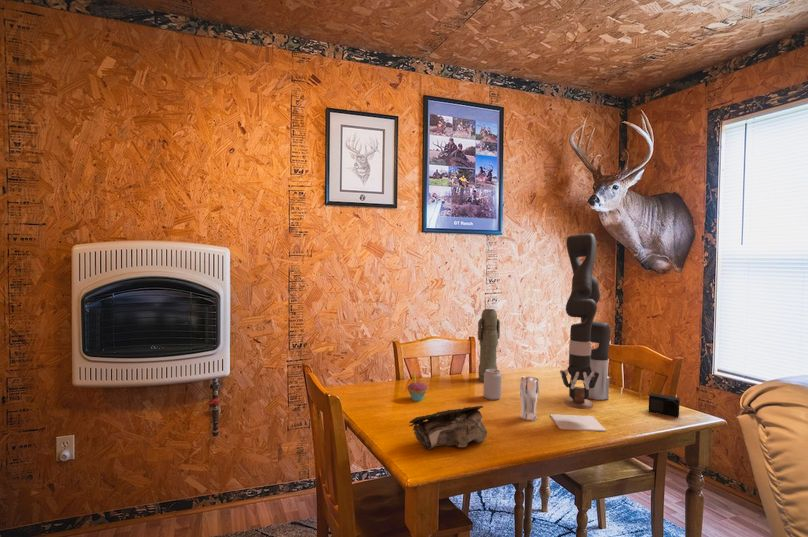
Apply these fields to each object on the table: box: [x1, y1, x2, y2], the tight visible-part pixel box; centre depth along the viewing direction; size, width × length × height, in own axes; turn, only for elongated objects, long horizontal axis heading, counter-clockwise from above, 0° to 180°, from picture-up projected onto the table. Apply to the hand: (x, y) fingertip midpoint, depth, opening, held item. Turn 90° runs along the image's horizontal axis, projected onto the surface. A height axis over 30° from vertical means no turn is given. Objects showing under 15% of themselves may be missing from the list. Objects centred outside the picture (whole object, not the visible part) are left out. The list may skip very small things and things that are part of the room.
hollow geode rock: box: [408, 405, 489, 451], centre depth 145 cm, size 28×13×15 cm
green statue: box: [477, 308, 501, 383], centre depth 223 cm, size 9×12×35 cm
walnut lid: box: [563, 386, 594, 410], centre depth 168 cm, size 10×10×6 cm
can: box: [482, 368, 503, 401], centre depth 196 cm, size 8×8×12 cm
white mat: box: [550, 413, 607, 432], centre depth 168 cm, size 16×14×1 cm
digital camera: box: [648, 392, 681, 419], centre depth 180 cm, size 10×5×7 cm, turn 54°
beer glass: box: [519, 376, 540, 422], centre depth 172 cm, size 7×7×15 cm
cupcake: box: [407, 371, 428, 402], centre depth 191 cm, size 9×8×12 cm
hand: (578, 398), depth 168 cm, fingers closed on walnut lid, 4 cm apart
